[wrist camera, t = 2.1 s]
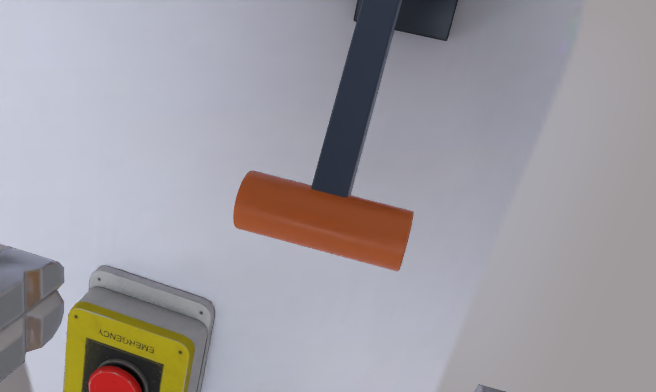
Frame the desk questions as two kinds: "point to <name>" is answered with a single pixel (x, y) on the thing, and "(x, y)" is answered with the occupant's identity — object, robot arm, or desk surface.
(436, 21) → the switch bracket
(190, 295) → the emergency button
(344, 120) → the switch lever
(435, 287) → the desk surface
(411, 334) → the desk surface
